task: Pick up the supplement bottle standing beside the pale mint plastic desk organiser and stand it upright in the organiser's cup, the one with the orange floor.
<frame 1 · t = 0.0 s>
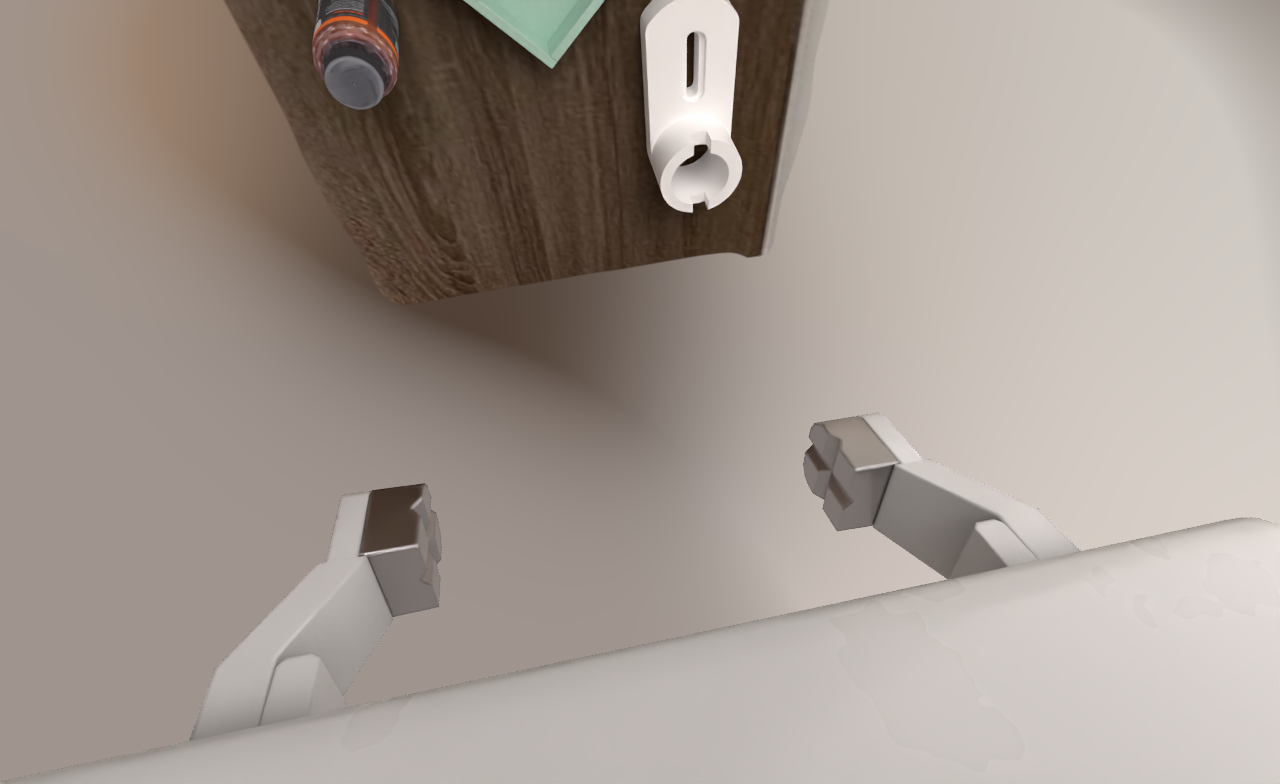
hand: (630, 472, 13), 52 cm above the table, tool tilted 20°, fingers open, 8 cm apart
supplement bottle: (360, 9, 50), on the table
bracket: (685, 90, 62), on the table
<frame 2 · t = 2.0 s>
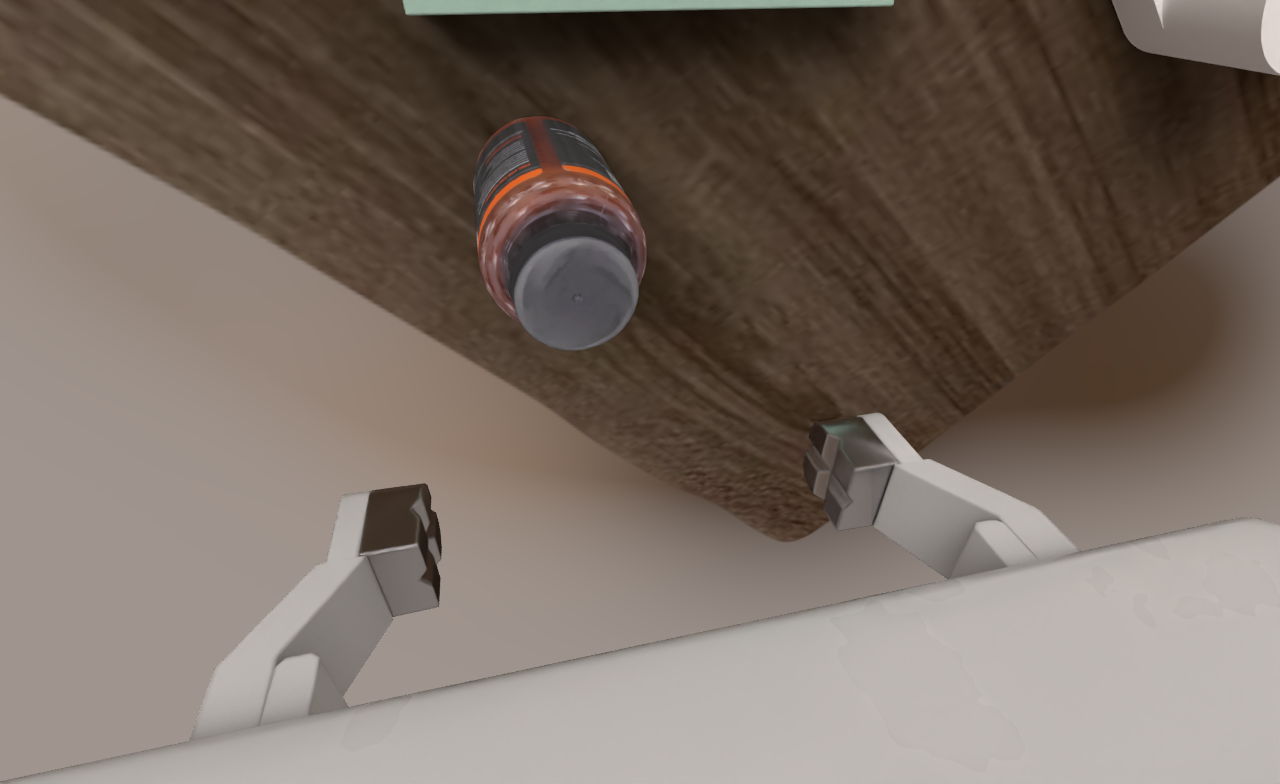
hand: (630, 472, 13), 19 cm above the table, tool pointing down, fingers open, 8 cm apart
supplement bottle: (540, 180, 28), on the table
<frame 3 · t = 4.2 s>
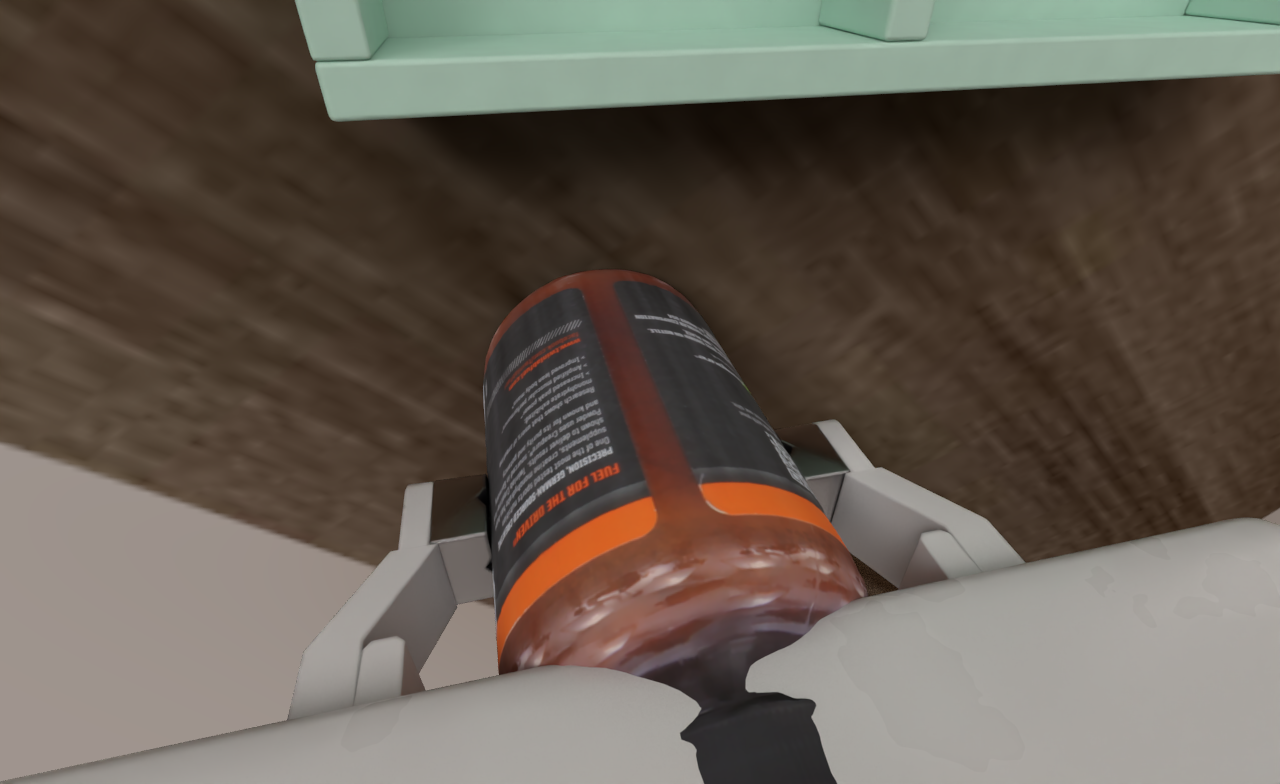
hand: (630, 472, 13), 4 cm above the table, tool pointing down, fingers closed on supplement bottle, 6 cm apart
supplement bottle: (597, 359, 16), on the table, touching gripper
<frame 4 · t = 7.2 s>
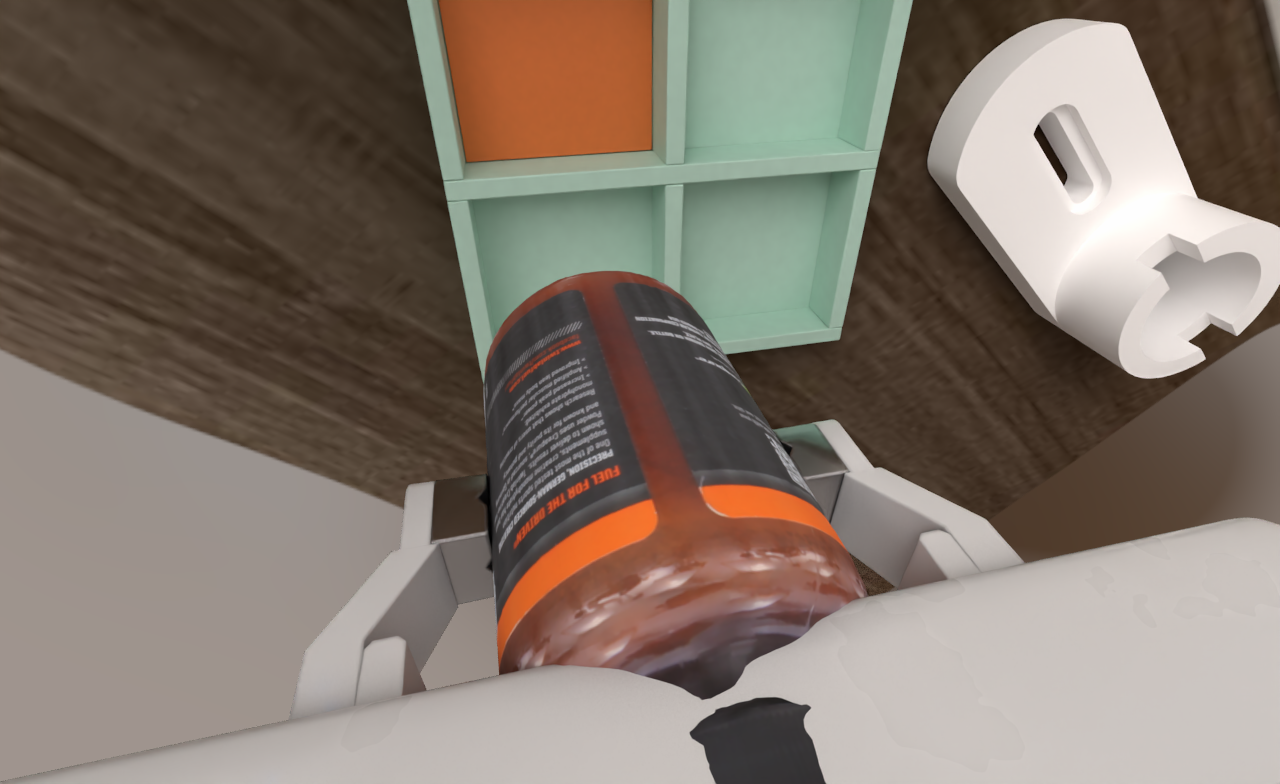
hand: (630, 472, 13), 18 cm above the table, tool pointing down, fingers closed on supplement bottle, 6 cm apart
organiser: (658, 156, 27), on the table
supplement bottle: (597, 361, 16), point 14 cm above the table, touching gripper
bracket: (1057, 195, 33), on the table
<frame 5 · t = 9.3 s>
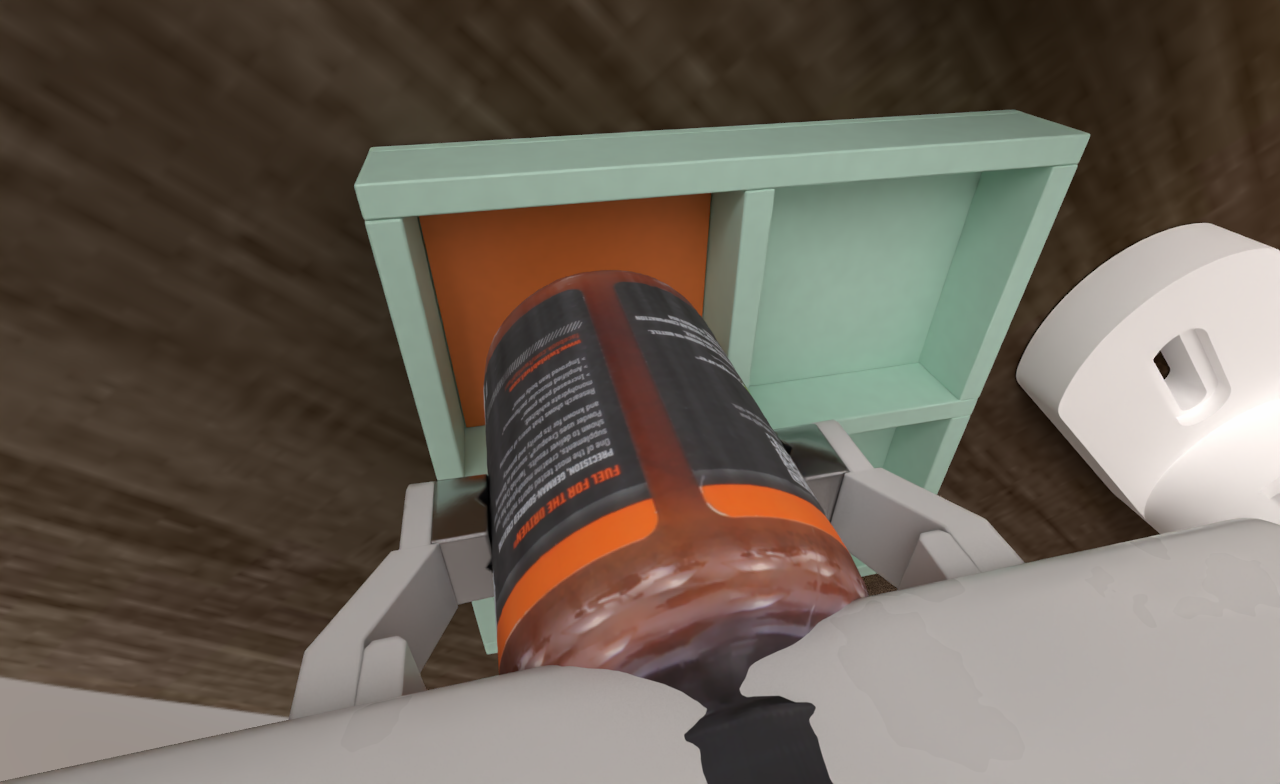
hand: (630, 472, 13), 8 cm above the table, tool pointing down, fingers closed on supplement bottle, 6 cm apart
organiser: (703, 393, 22), on the table
supplement bottle: (597, 360, 16), point 3 cm above the table, touching gripper
bracket: (1154, 386, 28), on the table
when the fingers open (5 cm above the table, at t = 10.7 s): supplement bottle stays where it is, resting on organiser.
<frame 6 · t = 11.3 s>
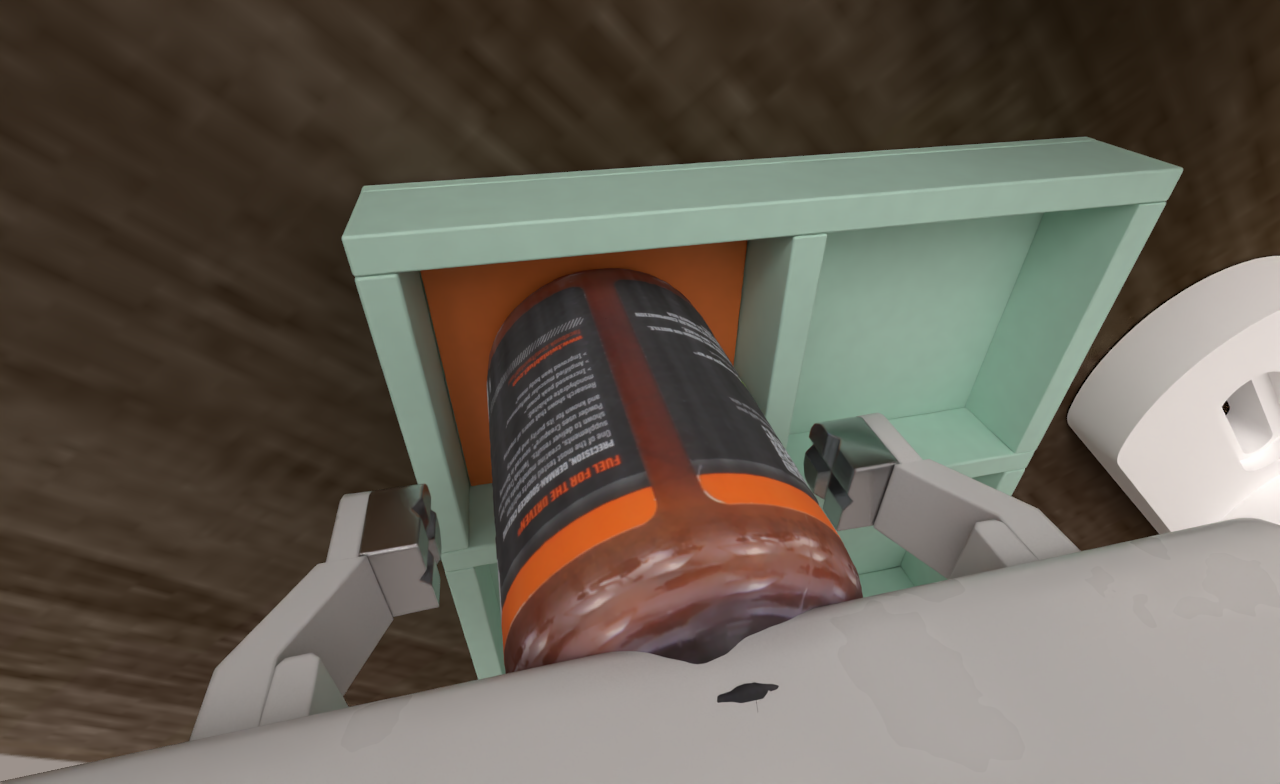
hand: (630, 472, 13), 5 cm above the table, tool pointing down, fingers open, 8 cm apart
organiser: (730, 443, 20), on the table
supplement bottle: (598, 357, 16), resting on organiser
bracket: (1211, 425, 26), on the table
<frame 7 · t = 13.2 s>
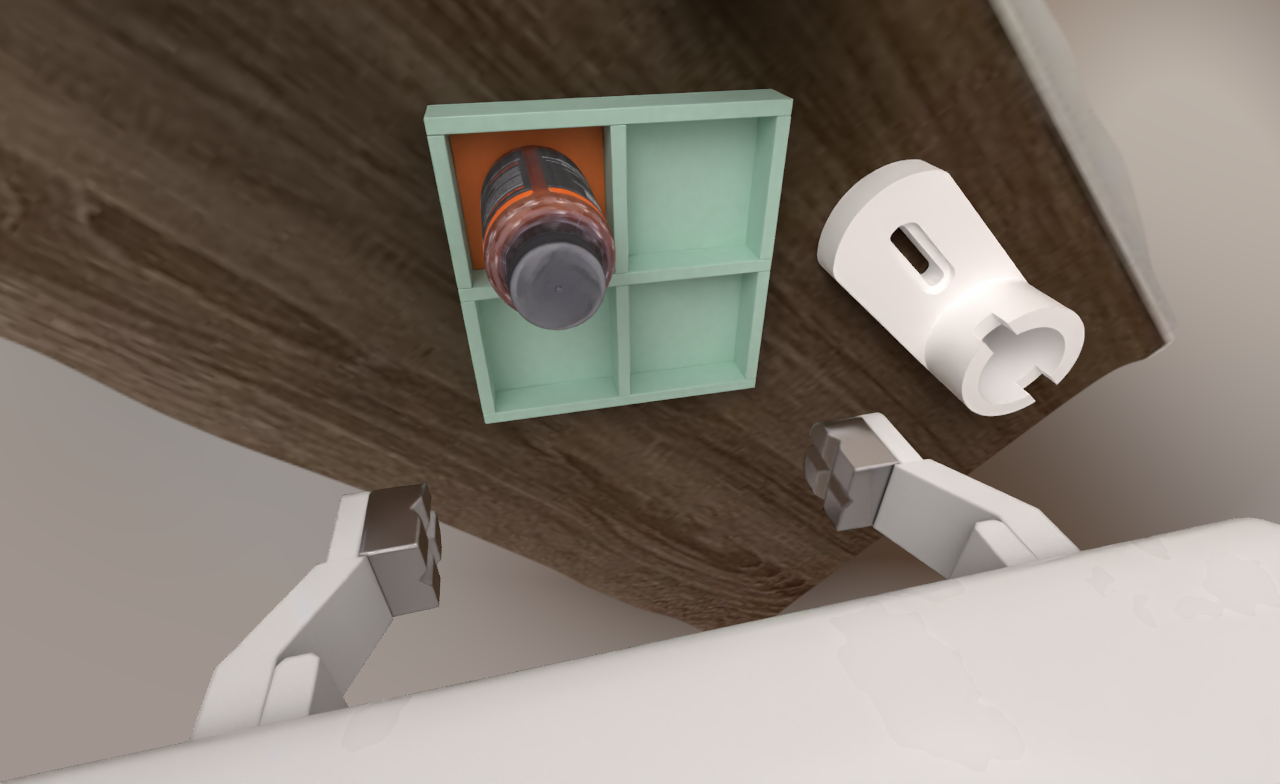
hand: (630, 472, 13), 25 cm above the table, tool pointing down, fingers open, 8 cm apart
organiser: (613, 259, 37), on the table
supplement bottle: (535, 197, 34), resting on organiser
bracket: (923, 275, 43), on the table
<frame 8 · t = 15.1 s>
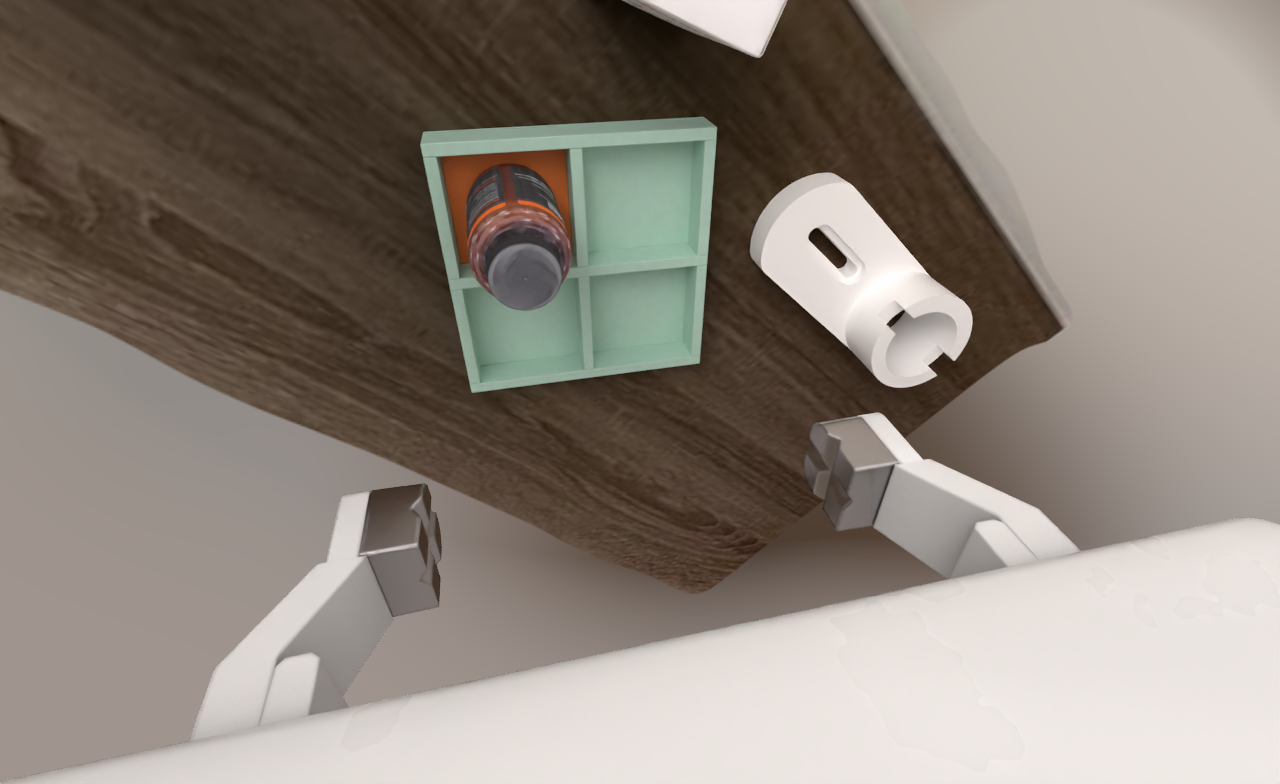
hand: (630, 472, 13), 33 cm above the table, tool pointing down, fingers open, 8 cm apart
organiser: (577, 255, 45), on the table
supplement bottle: (511, 204, 41), resting on organiser
bracket: (843, 269, 51), on the table
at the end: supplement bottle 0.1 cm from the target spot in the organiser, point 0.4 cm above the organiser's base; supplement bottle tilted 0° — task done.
